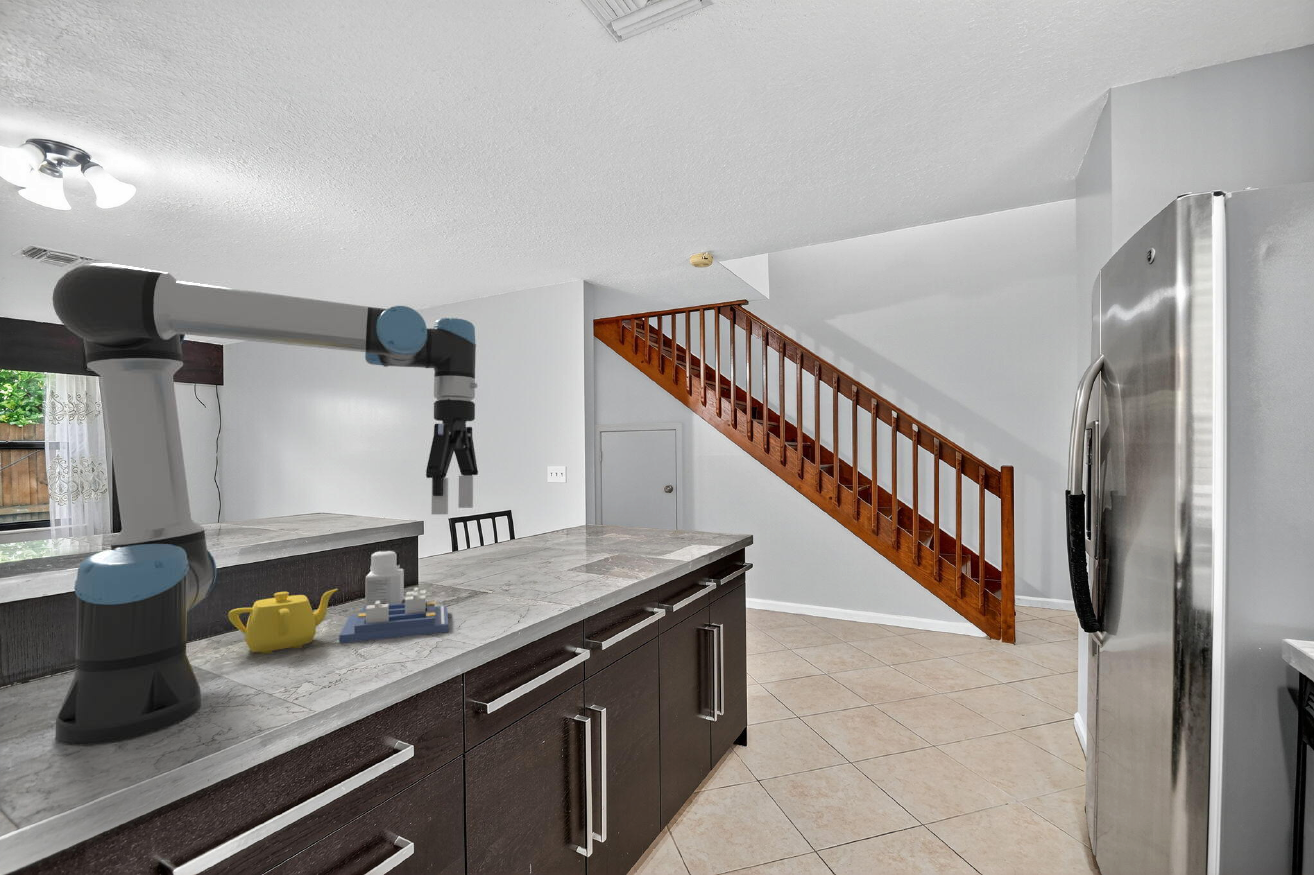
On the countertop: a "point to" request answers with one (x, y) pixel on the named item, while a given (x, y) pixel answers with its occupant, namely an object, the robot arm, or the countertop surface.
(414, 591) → the grey studded block
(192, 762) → the countertop surface
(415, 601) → the gray studded block
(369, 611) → the grey studded block
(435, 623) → the blue divided tray
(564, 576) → the countertop surface
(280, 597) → the teapot
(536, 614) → the countertop surface
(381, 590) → the container
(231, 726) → the countertop surface
